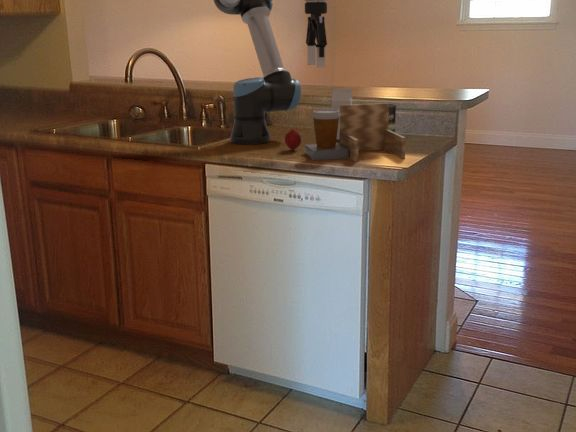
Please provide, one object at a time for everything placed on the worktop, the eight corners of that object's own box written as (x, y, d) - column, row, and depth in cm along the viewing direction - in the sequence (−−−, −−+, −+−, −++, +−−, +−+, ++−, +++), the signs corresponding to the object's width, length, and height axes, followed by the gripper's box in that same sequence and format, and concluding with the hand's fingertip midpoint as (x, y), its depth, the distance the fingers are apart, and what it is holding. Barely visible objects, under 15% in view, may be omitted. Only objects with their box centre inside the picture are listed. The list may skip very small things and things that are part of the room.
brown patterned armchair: (354, 161, 214) (355, 111, 209) (339, 151, 231) (339, 105, 226) (404, 158, 217) (406, 109, 212) (386, 148, 234) (387, 103, 229)
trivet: (313, 160, 216) (313, 151, 216) (305, 153, 228) (305, 144, 227) (348, 158, 219) (348, 149, 218) (338, 151, 230) (338, 142, 229)
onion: (285, 148, 236) (285, 126, 234) (301, 148, 236) (301, 126, 234) (284, 151, 231) (283, 129, 229) (300, 151, 230) (300, 129, 228)
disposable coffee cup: (308, 145, 226) (308, 110, 222) (335, 143, 228) (335, 108, 224) (316, 150, 217) (316, 113, 214) (343, 148, 219) (344, 112, 216)
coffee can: (398, 145, 239) (400, 106, 235) (371, 146, 238) (372, 107, 234) (390, 140, 249) (391, 102, 245) (363, 141, 247) (364, 103, 243)
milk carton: (350, 140, 250) (350, 89, 245) (331, 140, 252) (331, 89, 246) (352, 137, 257) (352, 87, 252) (333, 136, 259) (334, 87, 253)
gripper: (336, 0, 212) (336, 68, 218) (317, 2, 235) (318, 63, 241) (313, 0, 210) (313, 68, 216) (297, 2, 234) (297, 64, 240)
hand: (316, 66), depth 229 cm, fingers open, 13 cm apart
